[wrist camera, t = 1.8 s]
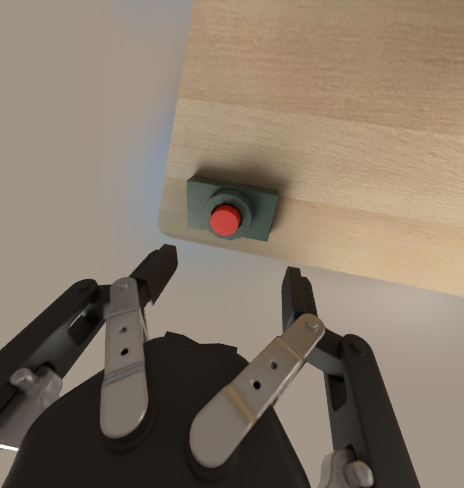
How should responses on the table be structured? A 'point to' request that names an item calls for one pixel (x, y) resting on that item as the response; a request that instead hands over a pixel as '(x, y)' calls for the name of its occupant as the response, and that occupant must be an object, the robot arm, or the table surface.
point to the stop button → (225, 220)
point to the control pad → (237, 195)
